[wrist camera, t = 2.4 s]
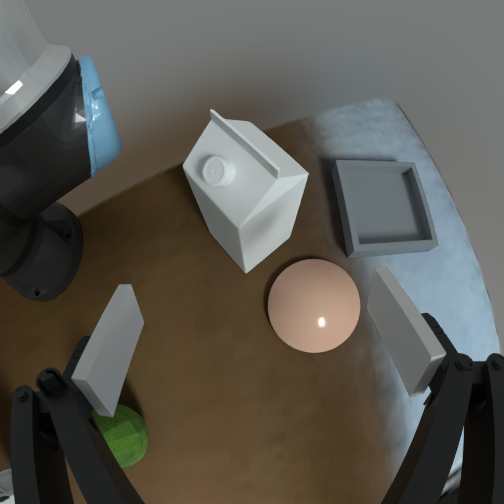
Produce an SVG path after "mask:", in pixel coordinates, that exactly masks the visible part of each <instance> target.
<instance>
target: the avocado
mask: <svg viewBox="0 0 504 504" xmlns="http://www.w3.org/2000/svg"><path fill="white" fill-rule="evenodd" d="M92 416H93V417H94V418H95V420H96V422H97V424H98V427H99V429H100V431H101V432H102V434H103V436H104V438H105V440H106V442H107V444H108V446H109V448H110V449H111V451H112V453H113V455H114V457H115V458H116V460H117V462H118V463H119V465H120V467H121V468H123V467H128V466H131V465H133V464H134V463H136V462H137V461H139V460H140V459H141V458H142V457H143V456H144V454H145V452H146V450H147V445H148V437H149V432H148V430H147V427H146V424H145V422H144V420H143V419H142V418H141V416H140V415H139V414H138V413H137V412H135V411H134V410H132V409H131V408H129V407H127V406H124V405H121V404H117V406H116V409H115V413H114V416H113V417H109V416H103V415H99V414H98V413H97V412H96V410H95V409H93V412H92Z"/></svg>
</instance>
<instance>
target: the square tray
mask: <svg viewBox="0 0 504 504" xmlns="http://www.w3.org/2000/svg"><path fill="white" fill-rule="evenodd" d="M331 172H332V177H333V182H334V186H335V191H336V196H337V201H338V206H339V211H340V216H341V222H342V227H343V233H344V239H345V245H346V251H347V258H355V257H368V256H380V255H392V254H403V253H415V252H426V251H430V250H431V249H433V248H435V247H436V246H438V241H437V237H436V233H435V229H434V225H433V221H432V217H431V213H430V210H429V206H428V203H427V199H426V196H425V193H424V190H423V186H422V183H421V180H420V177H419V174H418V171H417V169H416V166H415V163H409V162H392V161H364V160H336V161H335V163H334V166H333V168H332V170H331Z"/></svg>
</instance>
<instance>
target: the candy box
mask: <svg viewBox="0 0 504 504" xmlns="http://www.w3.org/2000/svg"><path fill="white" fill-rule="evenodd" d="M0 504H15V500H14V492H13V484H12V472H11V468H10V469H7V470H4V471H1V472H0Z"/></svg>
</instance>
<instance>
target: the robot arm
mask: <svg viewBox="0 0 504 504" xmlns="http://www.w3.org/2000/svg"><path fill="white" fill-rule="evenodd" d="M121 145H122V143H121V138H120V136H119V133H118V130H117V127H116V125H115V122H114V119H113V116H112V114H111V111H110V108H109V105H108V102H107V100H106V97H105V94H104V91H103V88H102V85H101V82H100V78H99V76H98V72H97V69H96V66H95V63H94V59H93V57H92V56H90V55H87V56H85V57H82V56H81V57H80V58H78V60H77V61H76V60H75V58H74V56H73V54H72V52H71V50H70V49H69V48H68V47H67V46H60V45H49V44H47V43H46V42H45V40H44V38H43V37H42V35H41V33H40V31H39V29H38V27H37V26H36V24H35V22H34V20H33V18H32V16H31V14H30V12H29V10H28V8H27V6H26V4H25V2H24V0H0V277H2V278H3V279H4V280H5V281H6V282H7V283H8V284H9V285H10V286H11V287H12V288H14V289H15V290H16V291H17V292H18V293H19V294H20V295H22V296H23V297H25V298H28V299H31V300H35V301H40V302H44V301H49V300H51V299H54V298H55V297H57V296H58V295H60V294H61V293H62V292H63V291H64V290H65V289H66V288H67V287H68V285H69V284H70V282H71V281H72V279H73V277H74V275H75V273H76V271H77V269H78V266H79V263H80V259H81V255H82V248H83V235H82V229H81V226H80V223H79V221H78V219H77V217H76V216H75V214H74V213H73V212H71V211H70V210H69V209H68V208H66V207H65V206H64V205H62V204H60V203H58V202H56V201H57V200H58V199H60V198H61V197H62V196H64V195H65V194H66V193H68V192H69V191H71V190H72V189H74V188H75V187H77V186H78V185H80V184H81V183H83V182H84V181H86V180H87V179H89V178H92V177H94V176H95V174H96V172H98V171H99V170H101V169H102V168H103V167H105V166H106V165H108V164H109V163H110V162H112V161H114V160H115V159H116V157H117V156H118V155H119V152H120V150H121ZM367 309H368V311H369V313H370V315H371V317H372V319H373V321H374V323H375V325H376V327H377V329H378V331H379V333H380V335H381V337H382V339H383V341H384V343H385V345H386V347H387V349H388V351H389V353H390V355H391V357H392V359H393V361H394V363H395V366H396V368H397V370H398V372H399V374H400V376H401V379H402V381H403V383H404V385H405V387H406V390H407V392H408V394H409V396H410V397H413V396H417V395H420V394H423V393H424V392H425V390H426V389H427V387H428V386H429V388H430V390H431V393H430V394H429V396H428V397H427V399H426V401H425V402H424V404H423V405H425V404H426V406H425V409H424V412H423V414H422V417H421V420H420V422H419V425H418V428H417V430H416V433H415V435H414V438H413V440H412V442H411V445H410V447H409V449H408V452H407V454H406V456H405V458H404V460H403V463H402V465H401V467H400V469H399V471H398V473H397V475H396V477H395V479H394V481H393V483H392V484H391V486H390V488H389V490H388V492H387V494H386V495H385V497H384V499H383V501H382V502H381V504H437V503H438V500H439V498H440V496H441V493H442V491H443V488H444V486H445V483H446V481H447V478H448V475H449V473H450V470H451V467H452V464H453V461H454V458H455V455H456V452H457V448H458V445H459V441H460V438H461V434H462V430H463V426H464V445H463V461H462V472H461V481H460V489H459V496H458V502H457V504H504V357H503V356H502V355H500V354H497V353H493V354H491V355H489V357H488V358H487V360H486V361H472V359H471V358H470V357H469V356H467V355H465V354H461V353H458V352H457V350H456V349H455V347H454V346H453V344H452V343H451V341H450V340H449V338H448V337H447V335H446V334H445V333H444V331H443V329H442V328H441V327H440V325H439V324H438V322H437V321H436V319H435V318H434V317H432V316H431V315H430V314H428V313H423V314H420V312H419V311H418V309H417V308H416V306H415V305H414V303H413V302H412V301H411V299H410V298H409V296H408V295H407V294H406V292H405V291H404V289H403V288H402V287H401V285H400V284H399V283H398V281H397V280H396V279H395V277H394V276H393V275H392V273H391V272H390V271H389V269H388V268H387V267H380V268H374V273H373V279H372V284H371V289H370V295H369V299H368V304H367ZM143 325H144V321H143V318H142V315H141V312H140V309H139V306H138V304H137V301H136V298H135V295H134V291H133V288H132V285H131V284H125V285H119V286H118V287H117V289H116V291H115V293H114V294H113V296H112V298H111V300H110V302H109V303H108V305H107V307H106V309H105V311H104V313H103V315H102V316H101V318H100V320H99V322H98V324H97V326H96V328H95V330H94V332H93V334H92V336H85V337H84V338H83V339H82V340H81V341H80V342H79V343H78V345H77V347H76V349H75V352H73V354H72V356H71V358H70V360H69V362H68V365H67V367H66V369H65V371H64V373H63V375H61V374H60V372H59V371H58V370H57V369H55V368H47V369H45V370H43V371H42V372H40V374H39V375H38V376H37V379H36V386H37V387H38V388H39V389H40V391H38V392H34V391H33V390H32V389H31V387H30V386H27V385H22V386H20V387H18V388H17V389H16V390H15V392H14V393H13V396H12V405H11V426H10V452H11V472H12V484H13V492H14V500H15V504H74V502H73V497H72V493H71V489H70V484H69V479H68V474H67V468H66V462H65V457H66V459H67V462H68V464H69V466H70V469H71V471H72V473H73V475H74V478H75V480H76V482H77V484H78V486H79V488H80V490H81V492H82V494H83V496H84V498H85V500H86V502H87V504H145V503H144V502H143V500H142V499H141V497H140V496H139V495H138V493H137V492H136V490H135V489H134V487H133V486H132V484H131V483H130V481H129V480H128V478H127V476H126V475H125V473H124V472H123V470H122V468H121V467H120V465H119V463H118V462H117V460H116V458H115V457H114V455H113V453H112V451H111V449H110V448H109V446H108V444H107V442H106V440H105V438H104V436H103V434H102V432H101V431H100V429H99V427H98V424H97V422H96V420H95V418H94V417H93V416H92V412H93V409H95V410H96V412H97V413H98V414H99V415H103V416H109V417H113V416H114V413H115V409H116V406H117V402H118V399H119V396H120V393H121V389H122V386H123V383H124V380H125V377H126V374H127V371H128V368H129V365H130V362H131V359H132V356H133V353H134V350H135V347H136V344H137V341H138V339H139V336H140V333H141V330H142V327H143ZM64 454H65V456H64Z"/></svg>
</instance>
